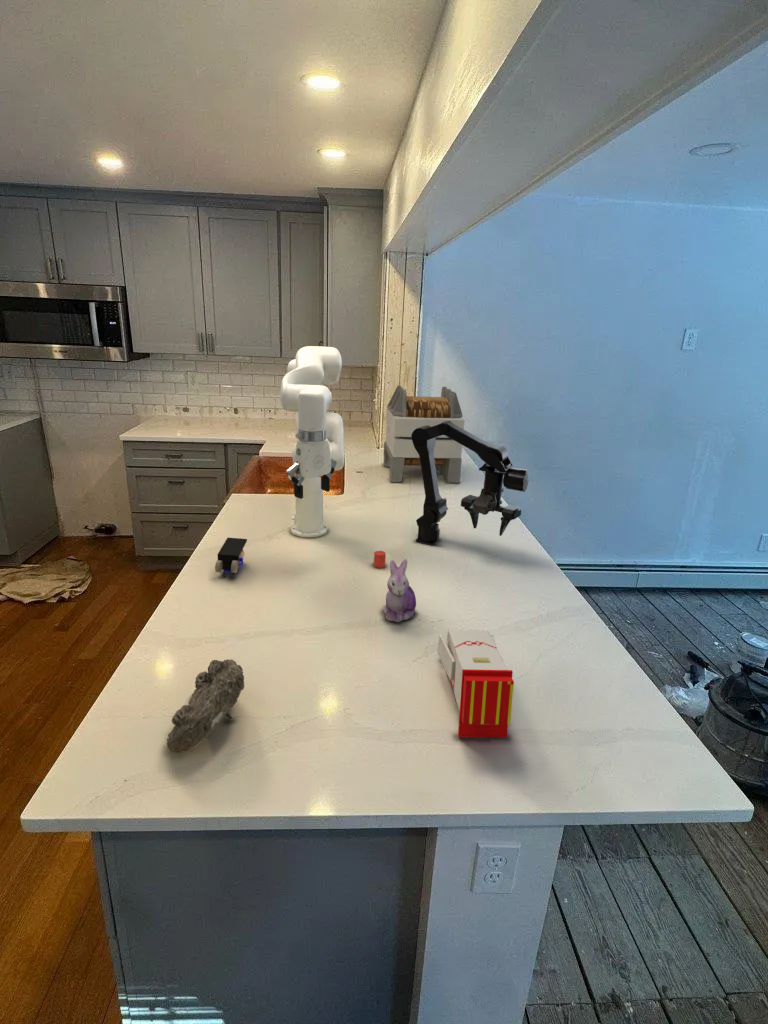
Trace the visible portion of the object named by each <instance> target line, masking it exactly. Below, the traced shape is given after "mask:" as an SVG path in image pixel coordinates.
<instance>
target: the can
mask: <svg viewBox="0 0 768 1024" xmlns="http://www.w3.org/2000/svg"><path fill="white" fill-rule="evenodd" d="M386 555H387V553H386V551H385V550H375V551H374V552H373V567H375V568H376V569H383V568H385V567H386Z"/></svg>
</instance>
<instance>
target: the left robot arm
mask: <svg viewBox="0 0 768 1024" xmlns="http://www.w3.org/2000/svg"><path fill="white" fill-rule="evenodd" d="M342 368H343V359H342V355H341V353H340V350H339V349H337V348H336V347H334V346H318V345H317V346H316V345H307V346H303V347H301V348H299V349H298V350H297V352H296V354H295V358H294V359H292V360H290V361H289V362H288V364H287V369H286V371H287V373H286V374H284V376H283V378H282V379H281V383H280V396H279V398H280V403H281V407H282V408H283V410H285V411H287V412H295V427H296V428H295V430H296V434H295V439H297V441H296V444H295V445H294V446H293V448H292V451H291V459H292V466H290V467H289V468H288V469H286V471H285V474H286V476H287V477H288V480H289V481H290V482H291V483H292V484H293V494H294V495H293V496H294V499H295V501H294V502H295V504H294V505H295V507H294V508H295V512H294V513H295V514H294V515H292V516H291V520H292V521H293V522H294V524H293V525H292V526H291V528H290V532H291V534H292V535H295V536H297V537H301V538H317V537H322V536H325V534H327V533H328V526H327V525H326V524H324V492H327V493H329V492H330V491H331V488H330V487H331V486H330V482H331V479H332V475H333V474H334V473H335V472H336V471H341V470H342V469H343V468H344V466H345V462H346V453H345V452H346V450H345V427H344V420H343V417H342V416H341V414H339V413H337V412H332V411H331V412H330V411H329V408H330V407H331V406H332V402H333V401H332V400H333V397H332V392H331V390H330V389H329V387H328V386H330V385H331V386H332V385H336V384H338V382H339V380H340V376H341V373H342ZM325 385H327V386H325ZM328 411H329V412H328Z"/></svg>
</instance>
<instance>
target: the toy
mask: <svg viewBox="0 0 768 1024" xmlns="http://www.w3.org/2000/svg"><path fill="white" fill-rule="evenodd" d="M446 640H447V643H446V641H445V639H444V636H443V635H442V634H439V637H438V646H437V656H438V657H439V659H440V661H441V663H442V666H443V668H444V670H445V672H446V674H447V677H448V679H449V681H450V684H451V687H452V690H453V693H454V697H455V701H456V705H457V708H458V711H459V714H458V715H459V716H458V730H457V731H458V732H457V737H458V738H508V731H509V726H510V725H511V717H512V707H513V697H514V696H513V695H514V684H515V680H514V679H513V673H514V671H513V670H512V669H508V667H507V665H506V662H505V661H504V659H503V658H502V655H501V653H500V651H499V649H498V647H497V643H496V639H495V637H494V635H493V634H491V632H490V631H489V629H467V628H466V629H465V628H463V629H461V628H460V629H459V628H448V630H447V639H446Z"/></svg>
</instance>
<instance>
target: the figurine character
mask: <svg viewBox="0 0 768 1024" xmlns="http://www.w3.org/2000/svg"><path fill="white" fill-rule="evenodd" d="M247 542H248V538H240V537H226V539H225V541H224V543H223V544H222V546H221V547H220V549H219V551H218V552H217V560H216V562H215V564H214V572H215V573H221V577H222V578H224V577H225V576H226V574H227V573H230V574H231V573H232V574H231V578H234V577H235V575H236V573H237V572H239V571H240V567H242V566H243V565H244V564H245V562H244V558H245V551H244V547H245V546H246V544H247Z"/></svg>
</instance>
